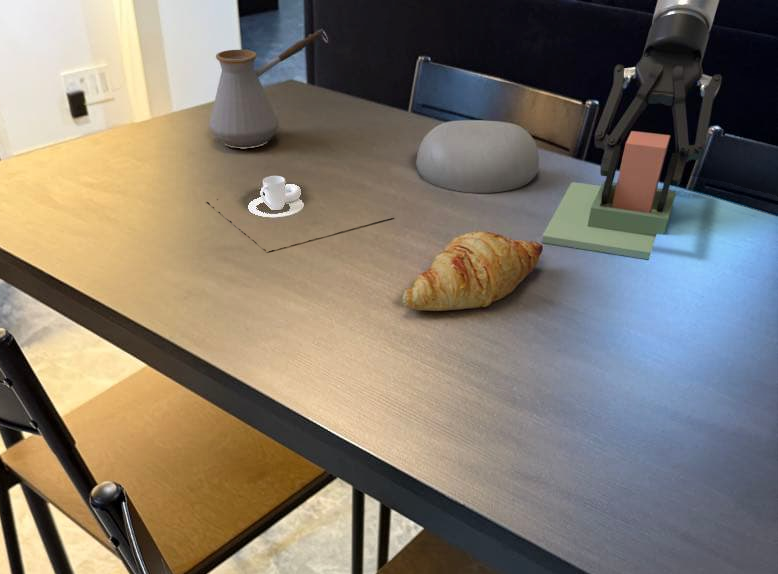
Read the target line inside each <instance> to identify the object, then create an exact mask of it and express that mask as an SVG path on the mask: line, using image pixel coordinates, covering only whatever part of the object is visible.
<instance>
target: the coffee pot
mask: <svg viewBox="0 0 778 574" xmlns="http://www.w3.org/2000/svg"><path fill="white" fill-rule="evenodd" d="M324 36H325V37H326V38H325V37H324ZM320 37H322V39H323V41H324V42H325V43H329V42H330V41H329V37H328V35H327V33H326V32H325V29H323V28H321V29H317V30H316V31H315V32H314V33H313V34H312V33H309V34H308V36H307V37H305V38H303V39H301V40H299V41H297V42H295V43H294V44H293V45H291V46H289V47H288V48H286V49H285V50H284V51H283V52H281V53H280V54H279V55H277V56H276V57H275V58H273V59H272V60H271V61H269V62H267V63H265V64H263V65H262V66H260V67H258V69H256V70H255V60H256V58H257V56H258V54H257V52H255V51H253V50H249V49H229V50H227V49H226V50H223V51H220V52H217V53H216V54H215V58H216V60H217V61H218V63H219V65H220V68H221V73H220V76H219V81H218V85H217V89H216V92H215V93H216V94H215V98H214V102H213V106H212V110H211V114H210V119H209V123H208V126H209V127H208V128H209V129H210V131H211V132H212V135H213V136H214V137H215V138H216V139H217V140H218V141H219V142H221V143H222V144H223V143H225V144H227V145H230V146H235V147H251V146H257V145H260V144H263V143H265V142H267V141H268V140H269V141H270V140H271V139H272V138H273V137H274V135H276V134H277V133H276V132H277V131H278V126H279V119H278V117H277V115H276V113H275V111H274V109H273V107H272V105H271V103H270V100H269V98H268V96H267V94H266V91H265V89H264V88H263V85H262V84H261V81H260V79H259V77H260V76H262V75H264V73H266V72H268V71H269V70H271V69H272V68H274V67H275V66H276V65H278V64H279V63H280V62H283V61H285V60H287V59H288V58H291V57H292V56H294V55H296V54H297V53H299V52H301V51H302V50H304V48H306V47H307V46H308V45H309V44H310V43H315V40H316V39H317V38H320Z"/></svg>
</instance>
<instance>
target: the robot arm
mask: <svg viewBox="0 0 778 574" xmlns="http://www.w3.org/2000/svg"><path fill="white" fill-rule="evenodd" d="M719 3H720V0H657V2H656V6H655V9H654V12H653V13H654V14H653V16H652V20H651V26H650V28H649V31H648V35H647V38H646V41H645V42H646V43H645V46H644V50H643V53H642V57H641V58H640V60H639V61H638V62H637V63H636V65H635V66H633V67H626V68H625V67H624V65H623V64H617V65H615V67H614V70H613V83H612V86H611V87H612V88H611V90H610V92H609V96H608V98H607V100H606V103H605V105H604V109H603V111H602V114H601V116H600V119H599V121H598V124H597V127H596V129H595V132H594V147H595V148H597V149H602V150H603V151H604V152H603V156H602V160H601V162H600V163H601V164H600V169H599V172H600V176H601V177H605V180H604V181H605V184H604V188H603V191H602V197H601V204H607V202H608V198H609V194H610V191H611V187H612V183H613V182H614V179H615V176H616V172H617V168H618V164H619V161H620V158H621V148H622V147H621V146H622V145H621V144H622V142H623V141H624V139H625V138H626V136H628V133H629V132H630V130H631V129H632V127H633V126H634V124H635V123H636V121H637V120H638V119H639V117H640V116H641V114H642V112H644V111H645V109H646V108H647V106H648V105H649V104H651V105H655V104H656V105H657V104H661V105H663V106H668V107H669V106H670V107H671V113H672V114H671V115H672V119H673V120H672V121H673V131H674V132H673V133H674V144H675V152H672V153H671V156H670V160H669V163H668V168H667V171H666V174H665V178H664V181H663V185H662V188H661V189H662V192H661V195H660V199H659V203H658V207H657V211H656V212H663V208H664V204H665V201H666V197H667V194H668V190H670V186H674V187H678V186H679V185H680V183H681V180H682V177H683V174H684V170H685V166H686V164H687V162H689V161H692V160H694V161H700V160H701V159H702V158H703V155H704V152H705V148H706V144H707V137H708V132H709V127H710V122H711V121H710V120H711V115H712V109H713V103H714V100H715V98H716V97H717V94H718V93H719V90H720V87H721V84H722V80H723V76H722V75H721V74H720V73H719V74H718V73H717V74H714V75H713V76H710V75H707V74H705V73H704V71H703V67H702V63H703V59H704V56H705V52H706V50H707V49H706V48H707V46H708V45H707V44H708V41H709V38H710V32H711V30H712V26H713V23H714V21H715V15H716V12H717V9H718V5H719ZM632 80H635V83H636V85H637V87H638V91H637V92H636V95H635V97H634V98H633V100H632V102H631V103H630V105H629V106H628V108H627V109H626V111H625V112H624V113H623V115H622V116H621V118H620V120H619V121H618V123H617V124H616V125H615V127H614V129H613V130H612V132H611V133H610V134H609V132H610V128H611V126H612V123H613V120H614V117H615V115H616V113H617V110H618V107H619V104H620V102H621V99H622V96H623V91H624V90H625V89H627V88H628V87H629V86H630V83H631V81H632ZM697 86H698V87H699V89H700V90H699V95H700V96H701V98H702V101H701V106H700V109H699V115H698V121H697V126H696V127H697V128H696V133H695V139H694V144H690V142H689V131H688V130H689V128H688V120H687V119H688V118H687V107H686V105H687V104H686V97H687V95H688V94H689V93H690V92H691V91H693V90H694V89H695V88H696V87H697Z"/></svg>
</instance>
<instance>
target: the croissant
mask: <svg viewBox="0 0 778 574" xmlns="http://www.w3.org/2000/svg"><path fill="white" fill-rule="evenodd" d="M542 252H543V244H540V243H539V242H537V241H534V240H530V241H526V240H521V239H520V240H519V239H518V240H517V239H512V238H508V237H506V236H503V235H501V234H499V233H498V234H497V233H493V232H490V231H478V230H477V231H473V232H467V233H462V234H460V235H457V236H456V237H454V238H453V239H451V240H450V242H448V244H447V245H446V247H445V248H444V251H442V252H440V253H439V254H438V255H436V257H435V258H434V259H433V261H432V263H431V267H430V268H429V269H427V270H426V271H424V272H422V273H420V274H418V276H417V277H416V280H415V282H414V283H413V286H412V287H409V288H407V289H406V290H404V292H403V296H402V303H403V304H404V306H405V307H407V308H409V309H410V310H417V311H432V312H438V311H439V312H443V311H445V312H446V311H457V310H464V309H469V310H470V309H476V308H481V307H483V308H486V307H488V306H490V305H492V303H493V302H496V301H499V300H501V299H503V298H505V297H507V296H508V295H510V294H511V293H512V292H513V291H514V290H515V289H516V288H517V286H518V285H519V284H520V283H522V281H523V280H524V279H526V277H527V276H528V275H529V274H530V273H531V272H533V270H534V269H535V268H536V266H537V264H538V262H539V259H540V256H541V254H542Z"/></svg>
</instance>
